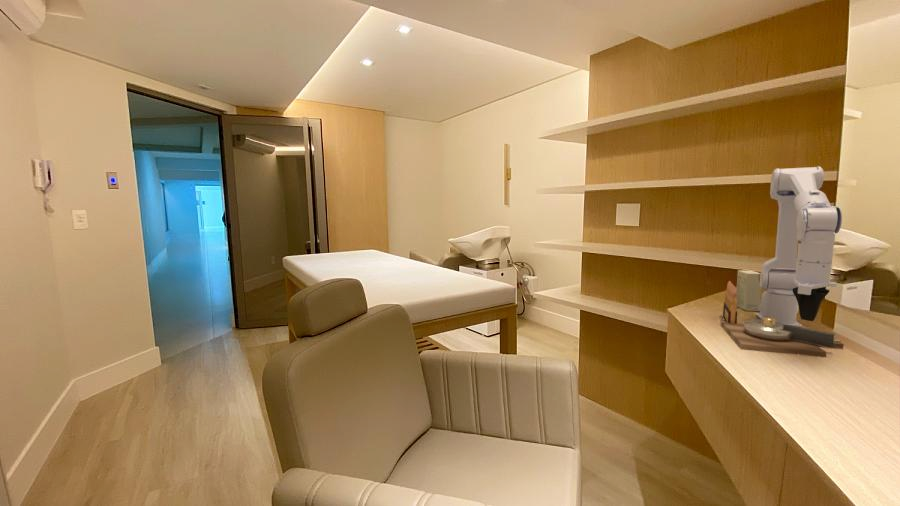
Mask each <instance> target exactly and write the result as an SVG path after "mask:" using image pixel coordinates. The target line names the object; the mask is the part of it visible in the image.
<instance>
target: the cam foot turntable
mask: <svg viewBox="0 0 900 506" xmlns="http://www.w3.org/2000/svg"><path fill="white" fill-rule="evenodd" d="M775 320H776V319H775V318H772V317H763V320H762V319H746V320H745V321H744V322H743V323H744V331H745V332H746V333H748V334H751V335H753V336H757V337H761V338H765V339H771V340H792V339H794V340H799V341H804V342H809V343H813V344H818V345H823V346H828V347H833V346H834V341H835V339H836V333H835V332H829V331H825V330H819V329H813V328H808V327H803V326H802V327H798V326H793V325H787V324H783V323H779V322H775Z"/></svg>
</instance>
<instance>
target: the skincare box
mask: <svg viewBox="0 0 900 506" xmlns="http://www.w3.org/2000/svg"><path fill="white" fill-rule="evenodd" d="M760 274H761V272H758V271H755V270H748V269H747V270H746V269H745V270H743V269H742V270H739V269H738V270H737V275H736V276H737V280H736V291H737V308H738V309H739V308H740V309H741V310H743V311H747V312H748V311H749V312H750V311H751V312H753V311H754V312H760V307H761V297H762V288H761V287H760Z"/></svg>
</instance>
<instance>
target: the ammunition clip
mask: <svg viewBox="0 0 900 506" xmlns="http://www.w3.org/2000/svg"><path fill="white" fill-rule="evenodd" d="M722 309H723V310H722V318H723V320H724V322H728V323H733V324H737V323H738V322H737V321H738V311H737V310H738V307H737V287H736V286H735V285H734V284H733V283H732V282H731V280H728V282H727V285H726V291H725V296H724V301H723V308H722Z"/></svg>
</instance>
